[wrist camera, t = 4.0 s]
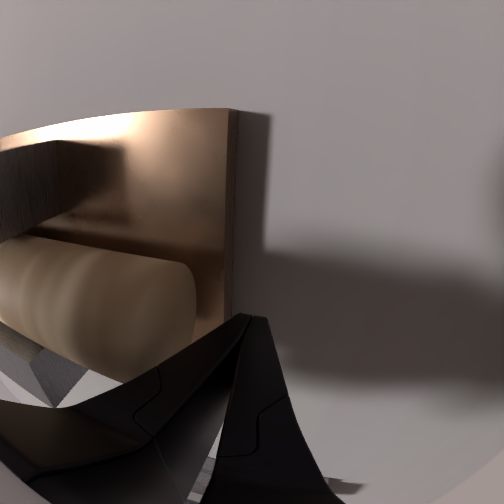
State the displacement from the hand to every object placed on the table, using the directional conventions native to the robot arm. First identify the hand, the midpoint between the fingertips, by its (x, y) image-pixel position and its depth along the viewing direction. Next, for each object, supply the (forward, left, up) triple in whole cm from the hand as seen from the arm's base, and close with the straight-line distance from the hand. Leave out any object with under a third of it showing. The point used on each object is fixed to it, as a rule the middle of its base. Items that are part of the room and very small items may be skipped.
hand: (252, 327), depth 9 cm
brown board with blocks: (+5, +10, -2) cm, 11 cm away
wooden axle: (+4, +8, -1) cm, 9 cm away
